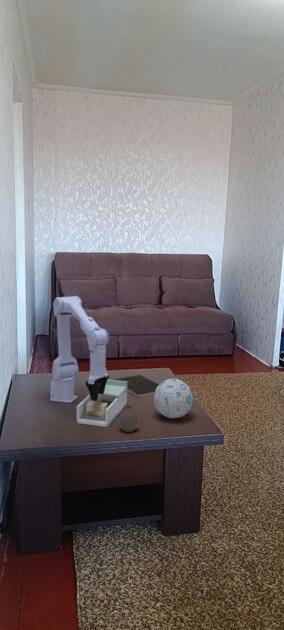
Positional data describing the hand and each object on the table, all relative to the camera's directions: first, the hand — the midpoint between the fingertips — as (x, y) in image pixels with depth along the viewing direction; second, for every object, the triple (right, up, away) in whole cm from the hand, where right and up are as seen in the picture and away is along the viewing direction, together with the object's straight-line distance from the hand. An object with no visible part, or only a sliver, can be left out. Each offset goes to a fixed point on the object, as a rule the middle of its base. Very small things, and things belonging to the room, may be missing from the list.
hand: (97, 396), depth 176 cm
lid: (+3, 0, +13) cm, 13 cm away
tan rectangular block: (0, -8, +1) cm, 8 cm away
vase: (+12, -11, -8) cm, 18 cm away
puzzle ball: (+29, -9, +6) cm, 31 cm away
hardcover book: (+16, -3, +39) cm, 42 cm away
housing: (+2, -8, +8) cm, 11 cm away
